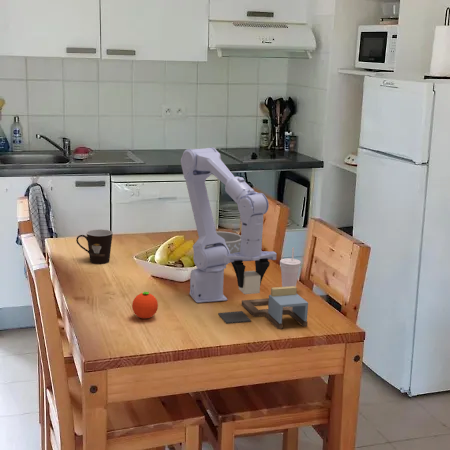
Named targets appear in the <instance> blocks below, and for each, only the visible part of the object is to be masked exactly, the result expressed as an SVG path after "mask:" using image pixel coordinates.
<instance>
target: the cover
mask: <svg viewBox="0 0 450 450" xmlns="http://www.w3.org/2000/svg"><path fill="white" fill-rule="evenodd" d="M297 289H298V288H297V286H296V287H295V286H289V287H282V286H278V287H271V289H270V294H269V295H268V298H269V304H268V305H267V307H268V308H267V309H268V313H269V314H270V315H271V316H272V317H273V318H274V319H275V320H276V321H277V322H278V323H279V324H280V323H282V324H283V314H282V312H283V308H285V307H293V308H292V311H293V312H294V313H296V314H297V315H298V316H299V317H300V318H301V319H302V320H304V321H307V322H308V310H309V302H308V301H307V300H306V299H305V298H303V297H302V296H301V295H299V294H298V293H297Z"/></svg>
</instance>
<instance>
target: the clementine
mask: <svg viewBox="0 0 450 450" xmlns="http://www.w3.org/2000/svg"><path fill="white" fill-rule="evenodd" d="M131 308H132V312H133V313H134V314H135V315H136V316H137V317H138V318H139V319H150V318H152V317H154V316H155V314H156V313H157V312H158V309H159V302H158V299H157V298H156V296H154V295H153V294H151V293H150V292H149V291H144V292H141V293H139V294H138V295H136V296H134V299H133V301H132V305H131Z"/></svg>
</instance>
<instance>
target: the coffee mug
mask: <svg viewBox="0 0 450 450" xmlns="http://www.w3.org/2000/svg"><path fill="white" fill-rule="evenodd" d="M113 233H114V232H113V231H111V230H109V229H91V230H88V231H86V235H84V234H79V235H78V236H77V237H76V241H75V242H76V244H77V245H78V246H79V247H80V248H81V249H83V250H84V251H85V252H86V253H87V254H89V255H88V256H89V262H90V263H91V264H92V265H93V264H94V265H104V264H108V263H110V259H111V252H112V251H111V249H112V242H113ZM81 237H82V238H85V239H86V242H87V247H88V249H87V248H86V247H84V246H83V245H82V244H81V243H80V242H79V238H81Z"/></svg>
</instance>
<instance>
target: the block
mask: <svg viewBox="0 0 450 450" xmlns="http://www.w3.org/2000/svg"><path fill="white" fill-rule="evenodd" d="M260 278H261V276H260V275H259V274H258V273H257V272H256V270H246V271H244V278H243V288H240V287H239V286H238V290H239V291H240V292H241V293H242V294H244V295H252V294H254V295H255V294H260V293H261V285H260Z"/></svg>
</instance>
